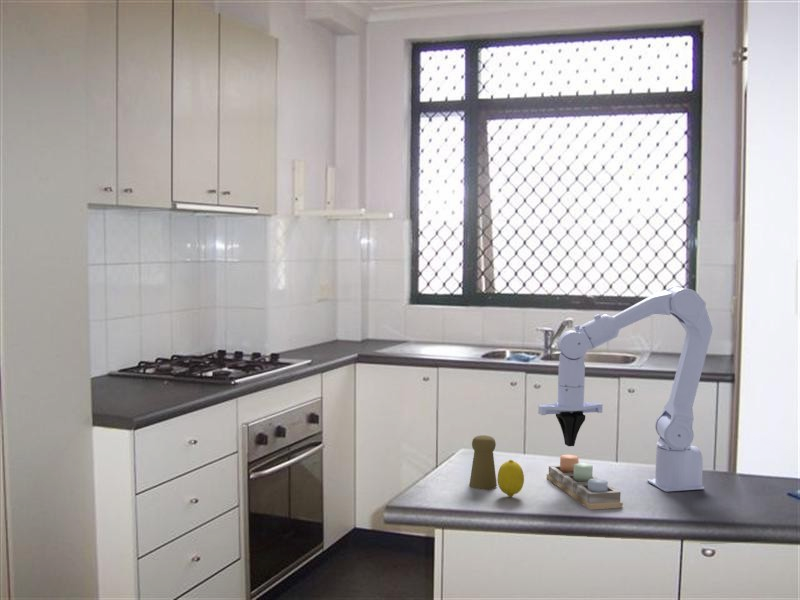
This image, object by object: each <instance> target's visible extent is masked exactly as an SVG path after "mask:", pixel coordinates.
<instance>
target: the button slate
mask: <svg viewBox="0 0 800 600" xmlns="http://www.w3.org/2000/svg"><path fill="white" fill-rule="evenodd" d="M608 483H609V482H608V480H606V479H603V478H599V479H596V478H595V479H589V480H588V490H589V491H591V492H606V491H608V485H609V484H608Z"/></svg>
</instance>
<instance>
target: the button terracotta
mask: <svg viewBox="0 0 800 600" xmlns="http://www.w3.org/2000/svg"><path fill="white" fill-rule="evenodd" d="M559 457H560V458H559V460H560V461H559V462H560V463H559V465H560V471H562V472H566V473H573V472H574V464H577V463H579V461H580V459H579V457H578V456H577V455H573V454H563V455H560V456H559Z"/></svg>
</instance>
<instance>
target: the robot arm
mask: <svg viewBox="0 0 800 600" xmlns="http://www.w3.org/2000/svg"><path fill="white" fill-rule="evenodd" d="M706 304H707V303H706V301H705V300H704V299H703V298H702V297H701V295H700V294H699V293H698V292H697V291H696V290H694V289H691V288H685V287H682V286H679V285H675V286H674V285H673V286H671V287H669V288H668V289H667V290H660V291H658V292H656V293H654V294H652V295H649V296H648V297H646V298H644V299H643V300H641V301H639V302H636V303H635V304H633V305H631V306H629V307H628V308H625V309H623V310H622V311H620V312H618V313H617V314H614V315H609V314H607V313H604V314H602V315H601V314H599V313H598V314H595V315H593V319H592V320H590V321H587V322H585V323H583V324H581V325H579V324H577V325H574V330H570V329H569V330H566V331H564V332H563V333H562V334H561V335H560V336H559V338H558V341H557V348H558V350H559V351H560V353H559V356H558V358H559V363H558V374H557V376H558V377H557V379H558V380H557V402H554V403H546V404H538V414H539V415H541V416H546V415H555V418H556V419H557V421H558V423H559V426H560V429H561V432H562V435H563V440H564V445H566V446H567V447H575V443H576V440H577V436H578V433H579V431H580V429H581V428H582V425H583V424H584V422H585V421H586V414H587V413H589V414H590V413H598V414H601V413H603V404H602V403H600V402H586V401H585V373H586V372H585V371H586V365H585V356H586V354H587V352H588V350H593V349H595V348H597V347H599V346H601V345H604V344H606V343H608V342H610V341H612V340H614V339H616V338H617V337H618V335H619V332H620V330H621V329H624V328H626V327H628V326H630V325H633V324H634V323H637V322H639V321H641V320H643V319H645V318H648V317H651V316H652V315H660V316H661V315H662V316H664V315H665V316H671V315H672V316H673V317H674V318H675V319H677V320H678V322H679V324H680V326H682V328H683V329H684V331H685V336H684V340H683V344H682V348H681V353H680V356H679V360H678V363H677V368H676V372H675V375H674V378H673V384H672V386H671V391H670V395H669V399H668V401H667V402H666V403H665V405H664V407H663V411H662V412H661V414H660V415H659V416H658V418H656V421H655V424H654V427H655V432H656V434H657V435H658V436H659V438H658V440H657V442H656V445H655V446H656V448H655V449H656V450H655V452H656V453H655V477H654V478H649V479H647V483H649V484H651V485H653V486H655V487H657V488H659V489H660V490H661V491H664V492H665V493H666V492H667V493H668V492H680V491H681V492H682V491H694V490H704V488H705V486H703V468H704V463H703V462H704V461H703V454H702V452H701V449H699V448H698V447H697V445H692V443H693V441H694V436H695V435H694V429H693V423H694V411H693V407H694V404H695V398H696V395H697V390H698V387H699V383H700V380H701V379H700V378H701V376H702V372H703V367H704V365H705V361H706V357H707V353H708V349H709V346H710V340H711V336H712V335H713V334H712V333H713V325H712V322H711V319H710V317H709V313H708V310H707V305H706ZM584 413H585V414H584Z"/></svg>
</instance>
